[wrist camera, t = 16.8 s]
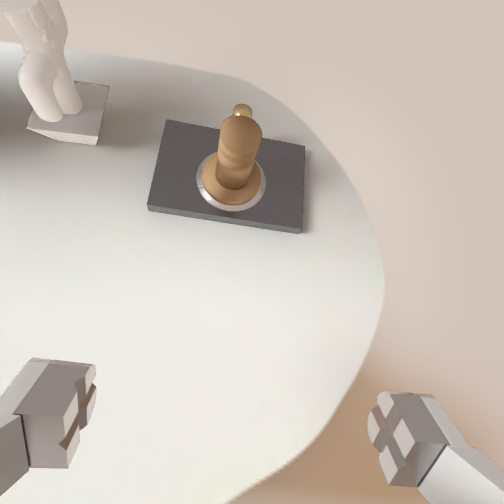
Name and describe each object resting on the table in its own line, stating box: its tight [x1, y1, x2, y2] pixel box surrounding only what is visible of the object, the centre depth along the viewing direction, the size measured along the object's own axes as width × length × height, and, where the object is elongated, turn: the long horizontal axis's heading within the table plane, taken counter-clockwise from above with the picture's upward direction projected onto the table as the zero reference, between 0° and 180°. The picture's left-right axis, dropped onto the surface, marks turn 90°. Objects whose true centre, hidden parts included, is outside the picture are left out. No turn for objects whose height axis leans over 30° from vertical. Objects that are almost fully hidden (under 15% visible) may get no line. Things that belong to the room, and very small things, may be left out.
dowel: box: [233, 104, 252, 118], centre depth 38 cm, size 2×2×6 cm
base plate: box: [147, 119, 305, 234], centre depth 40 cm, size 18×12×2 cm, turn 85°
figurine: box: [0, 0, 109, 145], centre depth 32 cm, size 7×9×15 cm
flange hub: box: [202, 115, 262, 206], centre depth 35 cm, size 7×7×8 cm
